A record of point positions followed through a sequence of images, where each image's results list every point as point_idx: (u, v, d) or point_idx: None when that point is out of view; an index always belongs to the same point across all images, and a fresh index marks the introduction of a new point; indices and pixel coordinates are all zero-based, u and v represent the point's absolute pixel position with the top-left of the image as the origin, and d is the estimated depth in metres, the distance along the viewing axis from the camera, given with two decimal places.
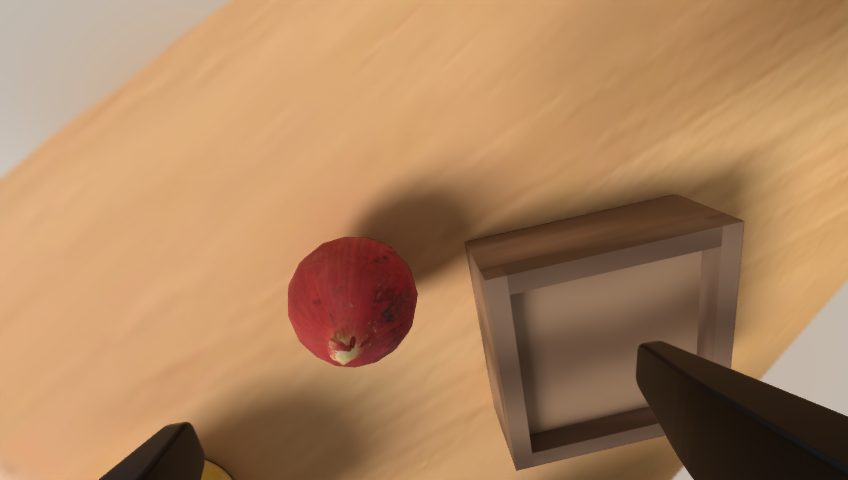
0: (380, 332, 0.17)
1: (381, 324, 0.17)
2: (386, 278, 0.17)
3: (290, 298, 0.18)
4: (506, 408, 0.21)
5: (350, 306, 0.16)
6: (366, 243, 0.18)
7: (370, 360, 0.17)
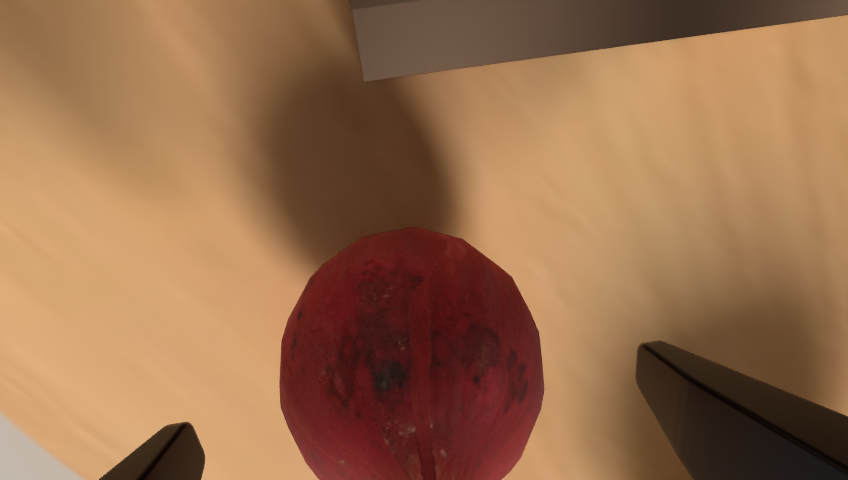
0: (422, 412, 0.06)
1: (403, 405, 0.06)
2: (322, 340, 0.07)
3: None
4: (817, 17, 0.07)
5: (343, 464, 0.07)
6: (284, 331, 0.09)
7: (509, 420, 0.07)
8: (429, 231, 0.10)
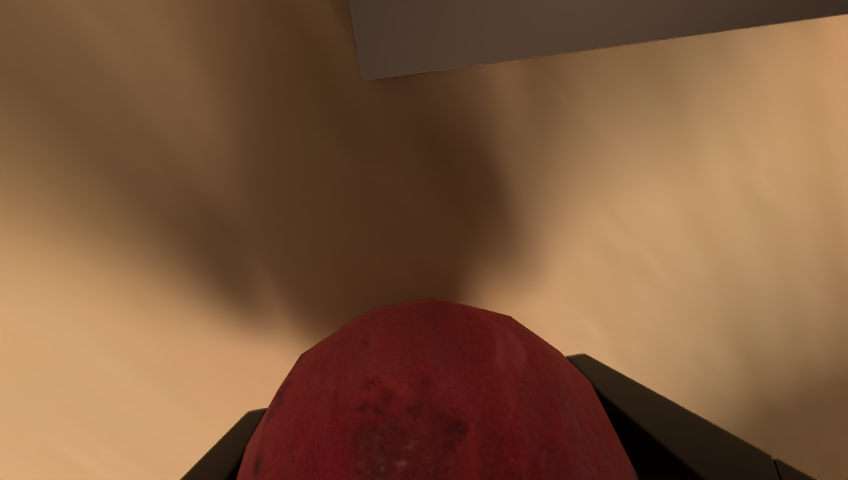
0: None
1: None
2: None
3: None
4: None
5: None
6: (240, 468, 0.06)
7: None
8: (462, 308, 0.06)
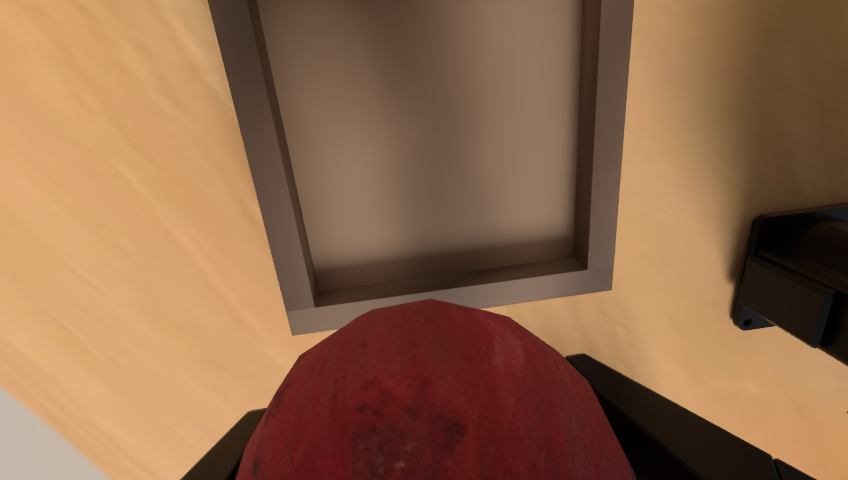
0: None
1: None
2: None
3: None
4: (496, 305, 0.16)
5: None
6: (239, 470, 0.06)
7: None
8: (461, 309, 0.06)
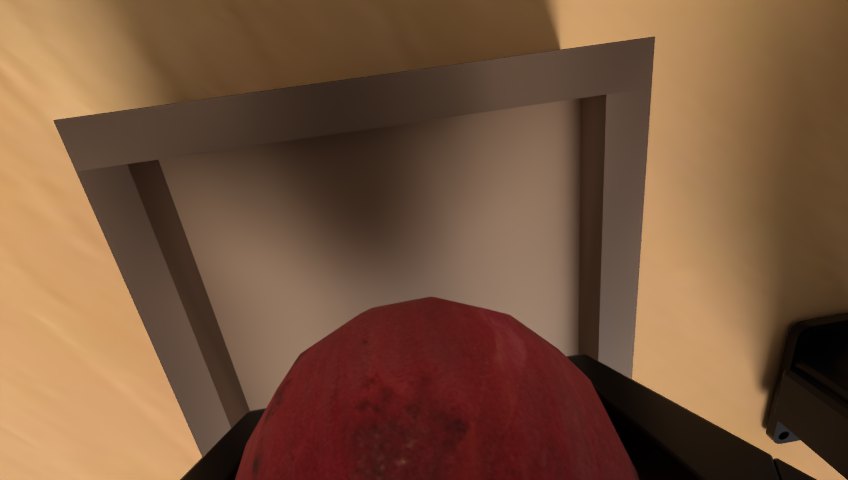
0: None
1: None
2: None
3: None
4: None
5: None
6: (239, 467, 0.06)
7: None
8: (462, 306, 0.06)
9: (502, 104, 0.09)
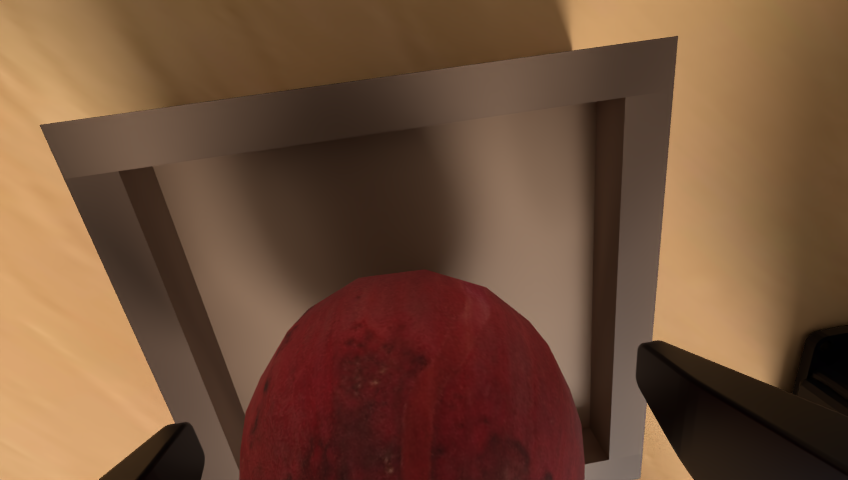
0: None
1: None
2: (286, 435, 0.05)
3: None
4: None
5: None
6: (254, 394, 0.07)
7: None
8: (444, 276, 0.07)
9: (515, 108, 0.08)
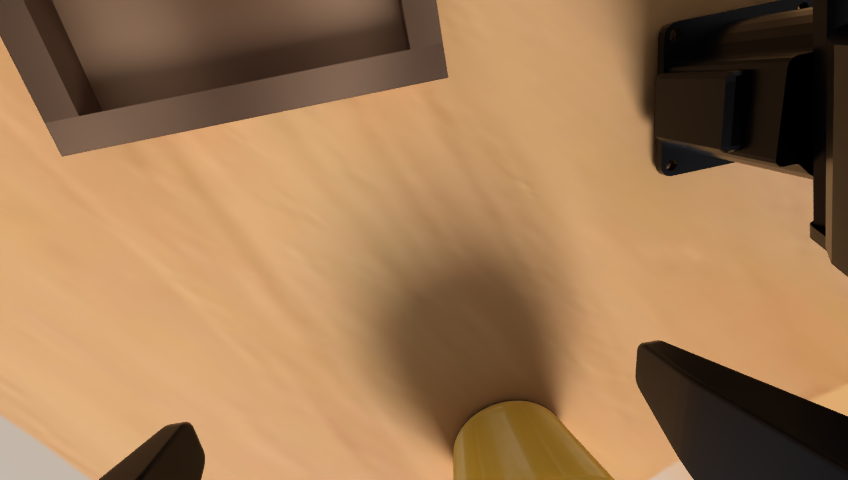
0: None
1: None
2: None
3: None
4: (306, 105, 0.13)
5: None
6: None
7: None
8: None
9: None
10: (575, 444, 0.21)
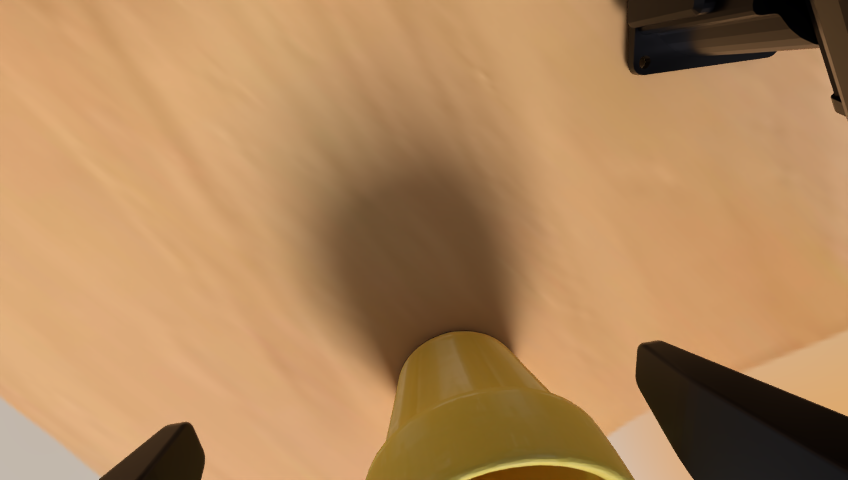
0: None
1: None
2: None
3: None
4: None
5: None
6: None
7: None
8: None
9: None
10: (525, 370, 0.19)
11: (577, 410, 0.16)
